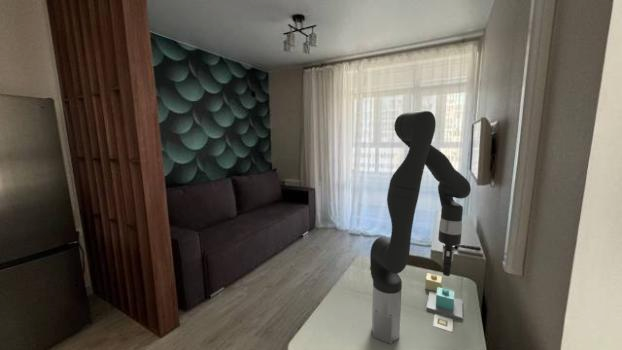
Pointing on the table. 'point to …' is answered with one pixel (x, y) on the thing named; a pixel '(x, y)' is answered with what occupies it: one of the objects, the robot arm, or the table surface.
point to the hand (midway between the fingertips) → (446, 270)
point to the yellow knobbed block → (433, 282)
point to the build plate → (454, 313)
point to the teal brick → (445, 298)
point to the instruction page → (443, 322)
